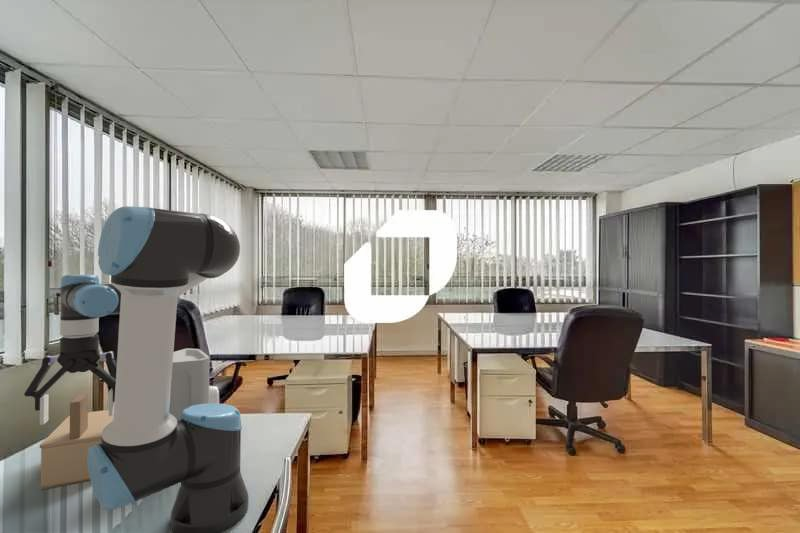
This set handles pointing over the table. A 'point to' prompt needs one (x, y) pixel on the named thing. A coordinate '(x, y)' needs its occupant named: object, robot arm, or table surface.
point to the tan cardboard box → (79, 425)
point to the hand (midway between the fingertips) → (78, 418)
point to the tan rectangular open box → (65, 464)
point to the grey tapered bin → (189, 380)
